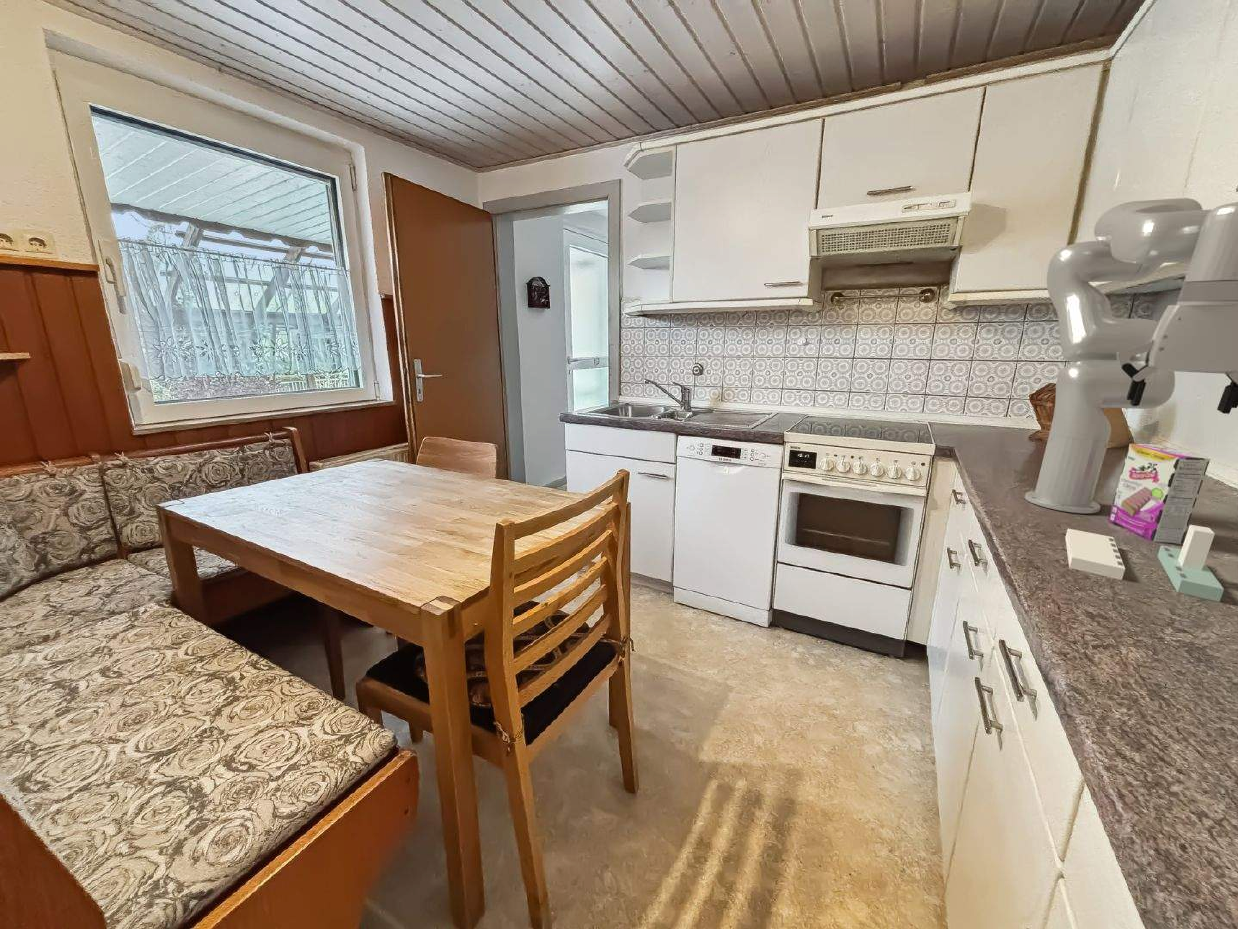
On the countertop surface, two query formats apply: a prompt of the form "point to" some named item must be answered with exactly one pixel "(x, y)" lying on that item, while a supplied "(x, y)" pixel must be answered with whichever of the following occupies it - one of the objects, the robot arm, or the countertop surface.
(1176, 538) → the candy bar box
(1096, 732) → the countertop surface
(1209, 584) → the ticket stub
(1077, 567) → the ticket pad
